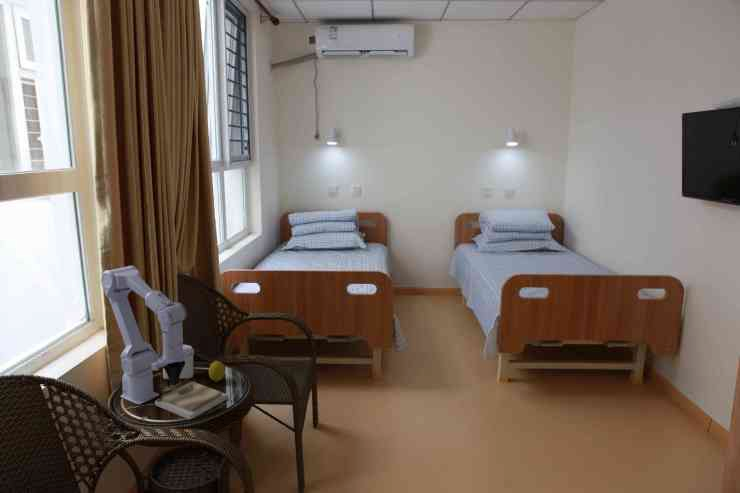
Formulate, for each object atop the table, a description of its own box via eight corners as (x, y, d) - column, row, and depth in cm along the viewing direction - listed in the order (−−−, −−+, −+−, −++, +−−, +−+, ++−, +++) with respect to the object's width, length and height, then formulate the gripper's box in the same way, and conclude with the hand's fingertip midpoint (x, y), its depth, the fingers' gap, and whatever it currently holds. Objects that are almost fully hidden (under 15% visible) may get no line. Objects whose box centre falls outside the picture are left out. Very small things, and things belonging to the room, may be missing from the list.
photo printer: (194, 373, 187) (193, 342, 184) (192, 378, 182) (192, 346, 180) (164, 375, 184) (163, 343, 182) (162, 380, 180) (161, 347, 178)
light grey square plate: (155, 405, 163) (154, 398, 163) (193, 386, 177) (193, 380, 176) (190, 419, 156) (190, 412, 155) (227, 398, 169) (227, 392, 169)
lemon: (220, 386, 178) (220, 365, 176) (206, 384, 179) (205, 363, 177) (227, 379, 183) (227, 358, 182) (213, 377, 184) (213, 356, 183)
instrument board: (161, 398, 164) (161, 391, 163) (191, 384, 175) (191, 377, 174) (192, 411, 157) (191, 403, 157) (221, 394, 168) (221, 387, 168)
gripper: (162, 353, 148) (163, 396, 150) (200, 338, 160) (201, 378, 163) (146, 347, 151) (147, 389, 154) (184, 333, 164) (185, 372, 166)
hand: (174, 383), depth 158 cm, fingers closed
